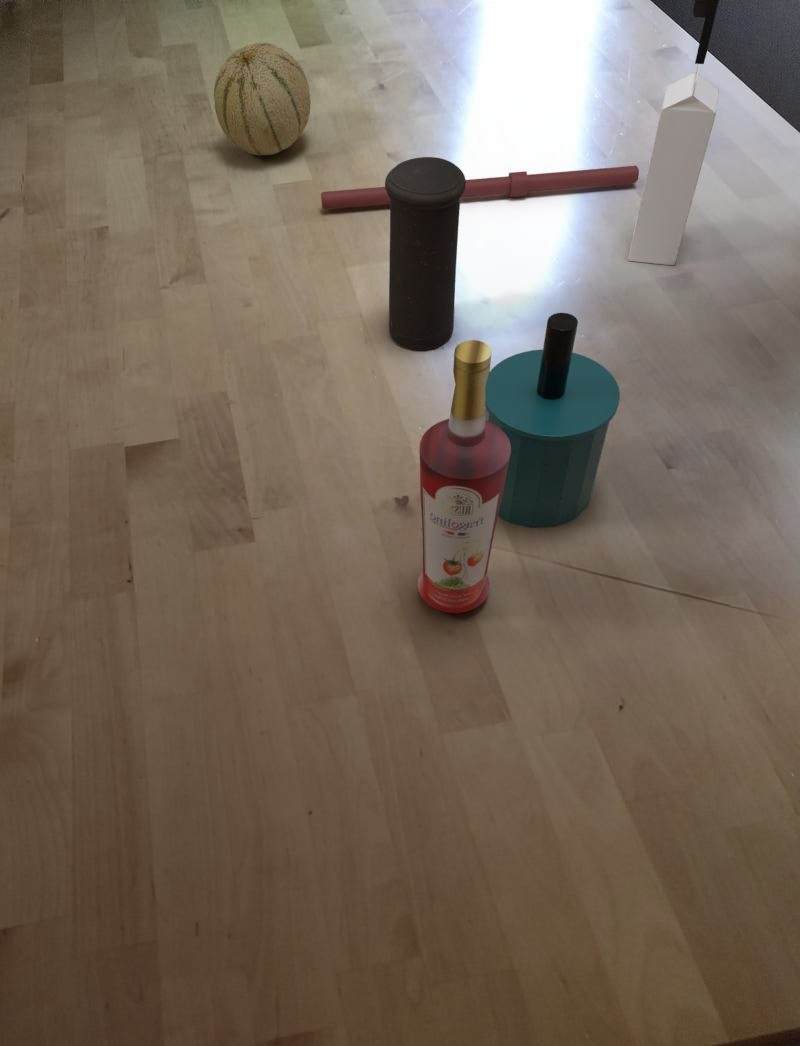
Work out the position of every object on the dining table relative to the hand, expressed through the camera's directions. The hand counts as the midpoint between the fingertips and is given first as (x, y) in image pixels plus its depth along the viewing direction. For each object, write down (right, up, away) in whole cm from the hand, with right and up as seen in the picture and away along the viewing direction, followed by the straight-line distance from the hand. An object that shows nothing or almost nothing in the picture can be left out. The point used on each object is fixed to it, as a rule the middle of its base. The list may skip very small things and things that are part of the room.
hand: (781, 62), depth 79 cm
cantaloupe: (-49, +27, +64) cm, 85 cm away
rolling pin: (-18, +13, +51) cm, 55 cm away
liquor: (-28, -46, +9) cm, 55 cm away
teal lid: (-19, -28, +6) cm, 34 cm away
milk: (+4, 0, +40) cm, 40 cm away
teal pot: (-18, -35, +16) cm, 43 cm away
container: (-28, -12, +33) cm, 45 cm away
